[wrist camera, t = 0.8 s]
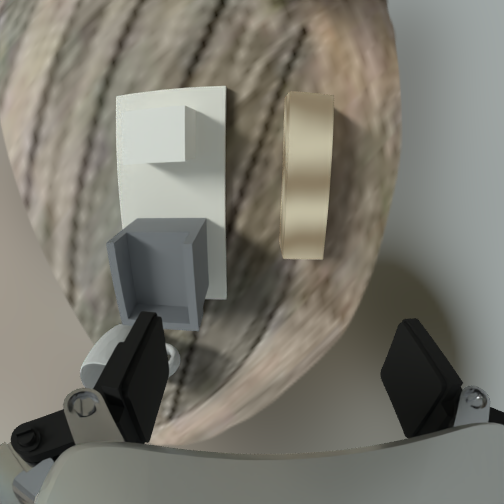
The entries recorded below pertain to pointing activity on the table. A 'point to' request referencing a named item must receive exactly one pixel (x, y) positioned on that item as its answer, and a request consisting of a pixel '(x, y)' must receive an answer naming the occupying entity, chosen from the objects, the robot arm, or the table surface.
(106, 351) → the mug
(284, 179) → the top rail
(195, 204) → the cup bracket
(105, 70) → the table surface
